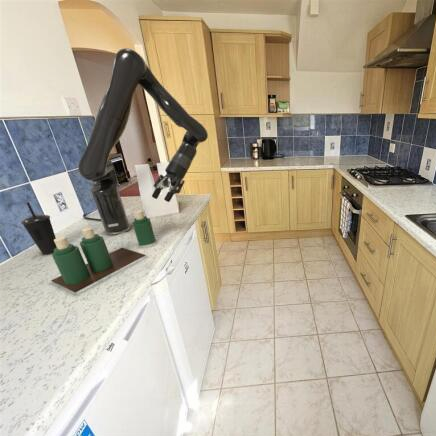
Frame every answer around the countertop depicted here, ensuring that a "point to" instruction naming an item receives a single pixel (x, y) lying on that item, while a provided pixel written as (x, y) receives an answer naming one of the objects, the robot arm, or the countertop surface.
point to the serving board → (119, 261)
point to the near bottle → (69, 262)
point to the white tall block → (147, 189)
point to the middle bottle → (95, 251)
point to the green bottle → (143, 229)
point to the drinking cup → (40, 231)
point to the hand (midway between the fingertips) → (160, 199)
